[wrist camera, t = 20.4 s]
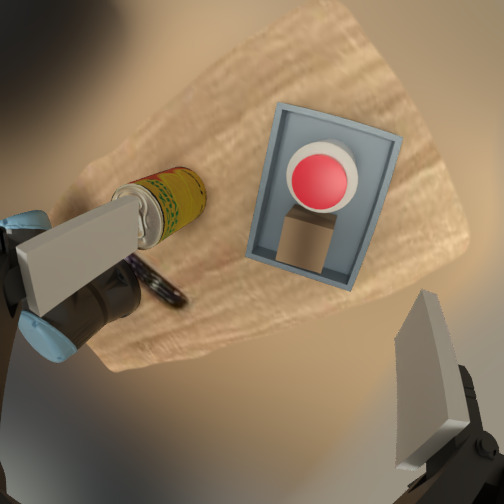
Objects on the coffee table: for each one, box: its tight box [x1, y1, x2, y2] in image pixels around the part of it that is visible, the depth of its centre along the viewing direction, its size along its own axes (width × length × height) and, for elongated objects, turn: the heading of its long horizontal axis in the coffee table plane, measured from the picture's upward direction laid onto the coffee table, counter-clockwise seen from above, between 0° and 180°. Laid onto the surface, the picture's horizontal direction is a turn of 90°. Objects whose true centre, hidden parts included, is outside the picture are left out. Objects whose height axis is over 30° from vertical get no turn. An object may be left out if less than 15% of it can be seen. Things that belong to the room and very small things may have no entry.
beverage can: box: [111, 167, 207, 250], centre depth 43 cm, size 9×9×12 cm
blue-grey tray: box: [245, 102, 403, 292], centre depth 40 cm, size 16×22×4 cm
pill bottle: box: [286, 138, 358, 213], centre depth 34 cm, size 8×8×11 cm
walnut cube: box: [276, 204, 337, 274], centre depth 41 cm, size 6×6×6 cm
